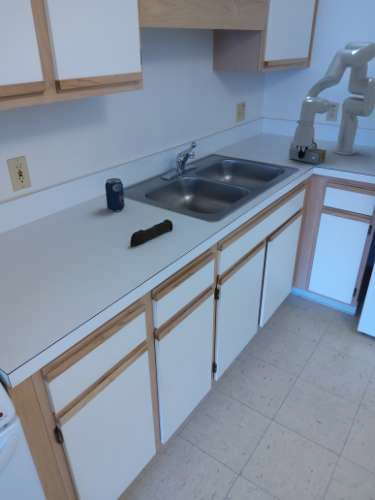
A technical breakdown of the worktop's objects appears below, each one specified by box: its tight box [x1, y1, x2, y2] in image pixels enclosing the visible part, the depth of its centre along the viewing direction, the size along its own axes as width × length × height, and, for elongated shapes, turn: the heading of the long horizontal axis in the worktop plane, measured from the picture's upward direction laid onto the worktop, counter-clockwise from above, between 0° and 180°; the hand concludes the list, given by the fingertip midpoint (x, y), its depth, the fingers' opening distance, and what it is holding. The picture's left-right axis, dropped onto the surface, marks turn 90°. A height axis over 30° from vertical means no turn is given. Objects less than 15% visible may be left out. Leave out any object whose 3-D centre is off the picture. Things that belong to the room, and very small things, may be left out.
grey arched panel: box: [289, 139, 318, 150], centre depth 233 cm, size 17×5×10 cm, turn 52°
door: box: [288, 148, 319, 165], centre depth 216 cm, size 2×17×5 cm, turn 47°
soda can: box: [104, 177, 126, 212], centre depth 155 cm, size 7×7×12 cm
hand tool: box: [129, 219, 174, 248], centre depth 135 cm, size 19×4×5 cm, turn 137°
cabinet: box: [290, 146, 327, 165], centre depth 220 cm, size 8×17×6 cm, turn 53°
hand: (300, 158), depth 215 cm, fingers closed
